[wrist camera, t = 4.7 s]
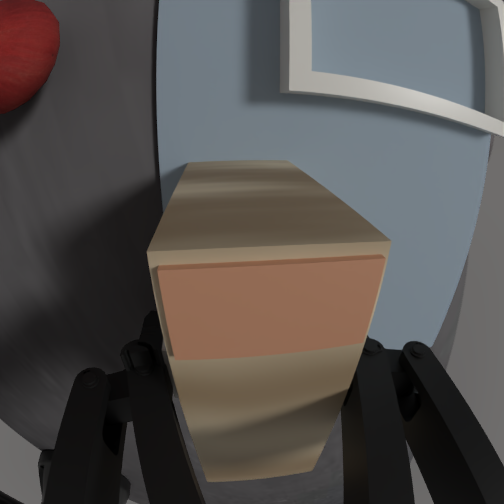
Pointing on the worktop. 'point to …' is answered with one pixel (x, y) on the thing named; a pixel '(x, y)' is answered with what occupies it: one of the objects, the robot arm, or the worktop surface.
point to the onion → (25, 50)
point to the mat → (342, 126)
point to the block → (262, 311)
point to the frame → (346, 87)
